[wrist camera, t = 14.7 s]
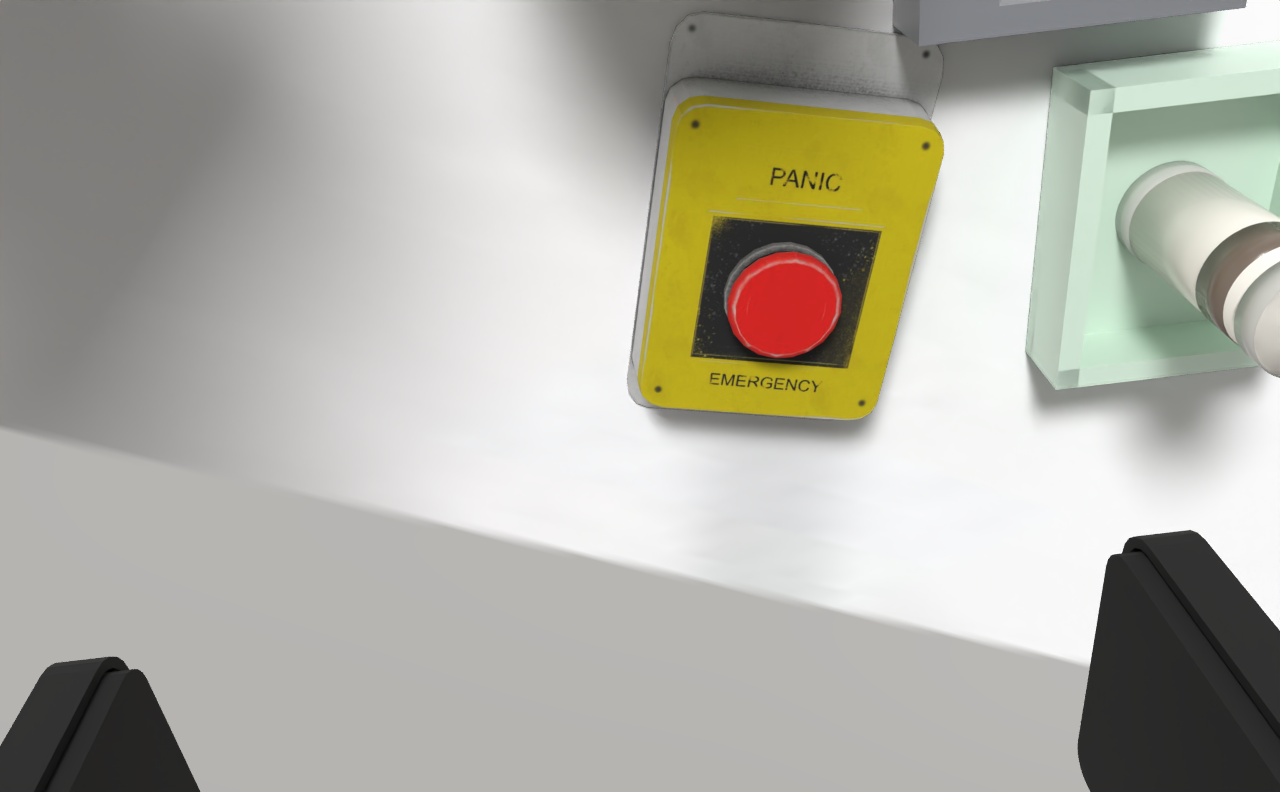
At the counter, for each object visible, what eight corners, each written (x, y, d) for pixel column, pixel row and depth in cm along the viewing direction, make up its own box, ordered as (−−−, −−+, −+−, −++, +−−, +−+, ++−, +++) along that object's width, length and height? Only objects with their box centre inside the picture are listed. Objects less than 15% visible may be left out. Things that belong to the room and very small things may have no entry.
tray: (1053, 67, 36) (1090, 90, 33) (1318, 35, 36) (1375, 57, 33) (1025, 351, 42) (1055, 390, 39) (1254, 324, 42) (1299, 361, 39)
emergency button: (628, 459, 39) (685, 34, 31) (623, 397, 42) (672, 4, 35) (876, 476, 40) (990, 67, 32) (849, 413, 43) (946, 35, 36)
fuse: (1122, 167, 37) (1266, 273, 30) (1227, 154, 37) (1398, 257, 30) (1109, 263, 39) (1241, 386, 32) (1209, 252, 39) (1365, 372, 32)
